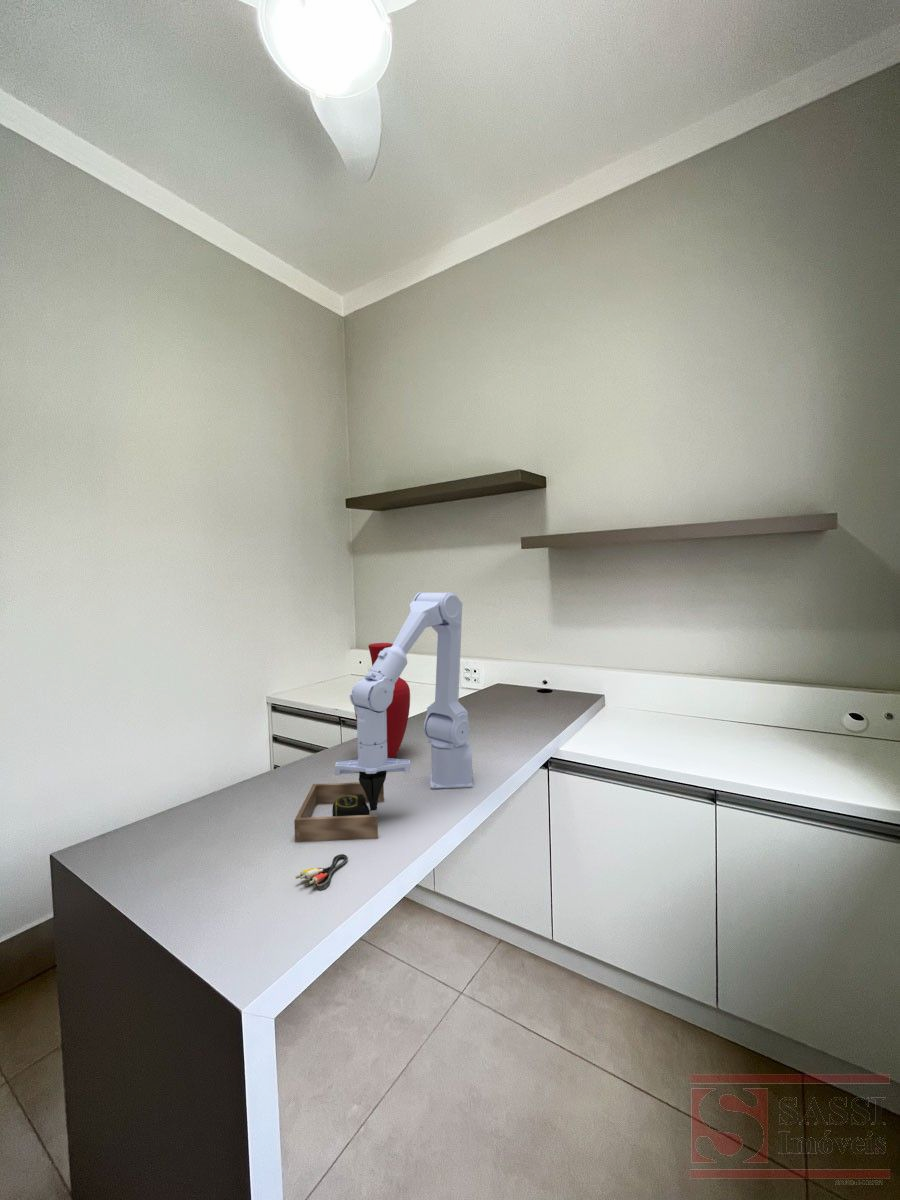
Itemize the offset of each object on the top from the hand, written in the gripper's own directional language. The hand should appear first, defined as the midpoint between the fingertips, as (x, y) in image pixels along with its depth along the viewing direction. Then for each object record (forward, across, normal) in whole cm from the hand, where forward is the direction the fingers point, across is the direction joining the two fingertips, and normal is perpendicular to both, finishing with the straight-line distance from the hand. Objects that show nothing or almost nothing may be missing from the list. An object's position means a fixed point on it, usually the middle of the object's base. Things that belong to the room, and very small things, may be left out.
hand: (373, 808), depth 98 cm
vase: (+2, -1, +33) cm, 33 cm away
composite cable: (+2, -6, -18) cm, 19 cm away
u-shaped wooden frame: (+2, -6, 0) cm, 6 cm away
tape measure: (+2, -4, 0) cm, 5 cm away
